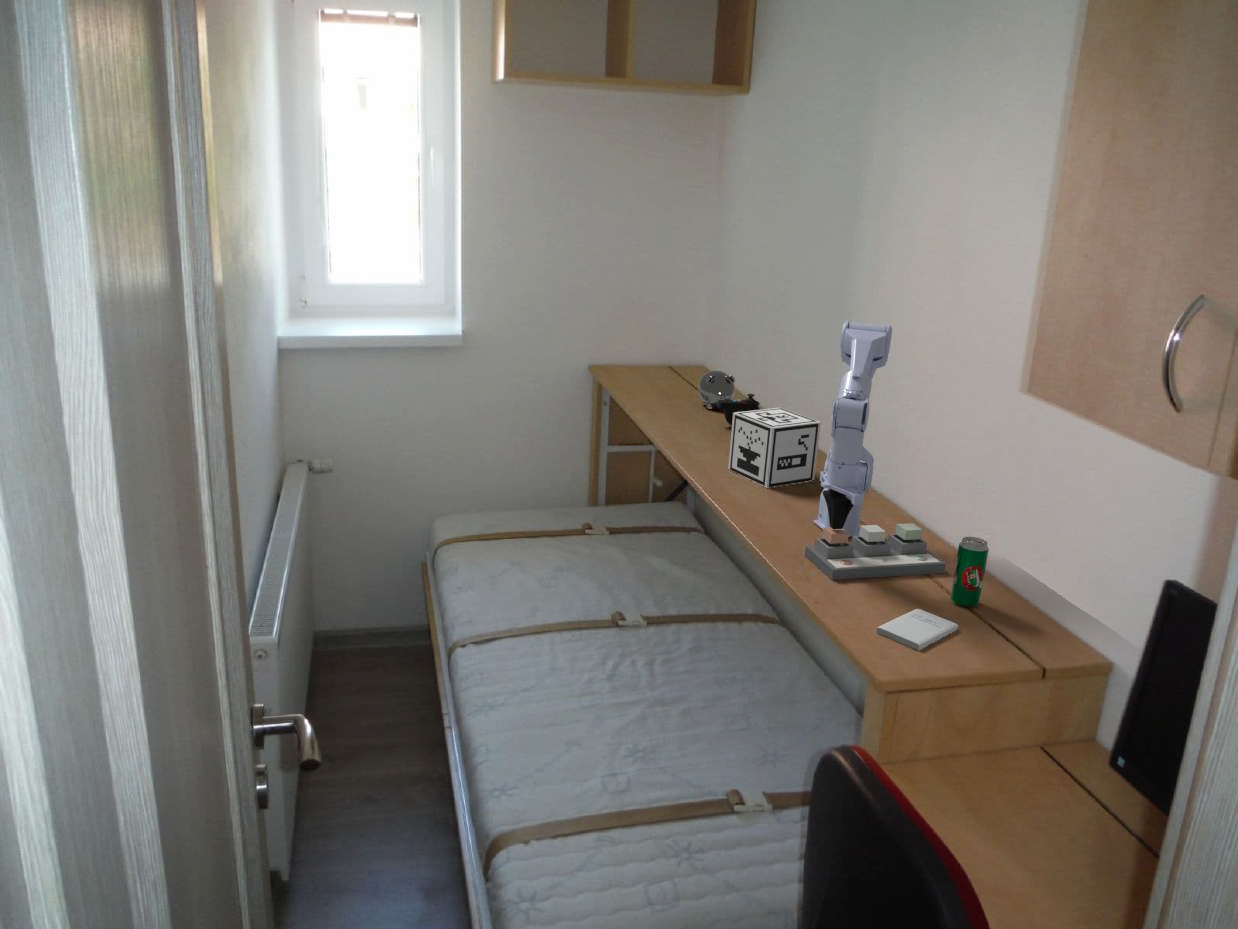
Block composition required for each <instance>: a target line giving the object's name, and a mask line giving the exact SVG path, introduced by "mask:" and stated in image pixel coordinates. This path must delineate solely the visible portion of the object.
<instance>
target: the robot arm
mask: <svg viewBox="0 0 1238 929" xmlns="http://www.w3.org/2000/svg"><path fill="white" fill-rule="evenodd" d="M842 324H843V325H842V330H841V336H840V343H839V344H840V348H839V349H840V357H841V361H842V362H843V363H845V364H846V365H848V366H849V371H847V372H846V373H845V374H843V376H842V378H841V382H840V387H839V391H838V396H837V400H836V399H835V400H834V402H833V406H832V411H831V420H830V421H831V434H830V437H831V443H830V449H829V450H828V452H827V453H826V459H825V462H824V467H823V471H820V474H819V481H820V482H821V483H820V487H822V488H823V490H822V491H821V493H820V497H819V498H820V499H819V505H818V506H819V507H818V515H817V519H813V524H816V526H818V527H819V528H820V529H821V530H823V527H831V528H832V529H842V528H843V529H844V530H845V531H846V532H848V533H849V535H848V538H850V537H851V538H852V536H860V535H859V533H860V522H861V514H862V508H863V507H862V506H863V505H864V502H865V493H869V492H870V491H871V488H872V487H871V486H872V481H873V474H874V462H875V460H874V459H875V458H874V456H873V454H872V453H871V452H870V451H869V450H868V449H867V448H865V446H864V445H863V444H864V438H865V431H866V430H867V427H868V423H869V414H870V397H871V396H870V395H871V389H872V384H873V378H874V375H875V373H876V372H877V369H879V368H883V367H885V366H886V364H887V362H888V359H889V354H890V348H891V341H892V335H893V334H892V333H893V327H892V326H891V325H890V324H887V325H885V324H874V323H865V322H864V323H863V322H854V321H850V320H846V321H845V322H844V323H842ZM862 461H863V462H862Z"/></svg>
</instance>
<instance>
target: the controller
mask: <svg viewBox="0 0 1238 929" xmlns="http://www.w3.org/2000/svg"><path fill="white" fill-rule="evenodd" d="M746 395H747V396H748V397H747V398H746V399H741V398H739V399H732V400H719V401H718V403H717V406H716V407H717V408H718V409H719V410H720V411H722V412H724V418H725V420H726V422H727V423H728V425H730V426H731V427H732V420H733V413H735V412H744V411H753V410H761V409H760V406H759V405H760V404H761V403H760V402H759V401H758V400H756V399H755V398H754V397H755V394H754V393H747V394H746Z"/></svg>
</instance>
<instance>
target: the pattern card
mask: <svg viewBox="0 0 1238 929" xmlns="http://www.w3.org/2000/svg"><path fill="white" fill-rule="evenodd" d="M827 561H828V562H829V563H831V564H832V565H833V566H834V567H835V568H836V569H841V568H858V567H875V566H892V565H909V564H925V563H940V561H939V560H937V559H936V558H934V557H933V556H931V555H930V554H917V555H900V556H882V557H864V558H847V559H829V560H827Z"/></svg>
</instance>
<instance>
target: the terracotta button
mask: <svg viewBox="0 0 1238 929" xmlns="http://www.w3.org/2000/svg"><path fill="white" fill-rule="evenodd" d="M848 535H849V533H848V532H846V531H845V530H844V529H843V528H842V529H832V528H831V527H823V529H822V536H821V538H824V539H825V540H826V541H828V542H829V543H830V544H837V543H849V542H848V540H849V537H848Z"/></svg>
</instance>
